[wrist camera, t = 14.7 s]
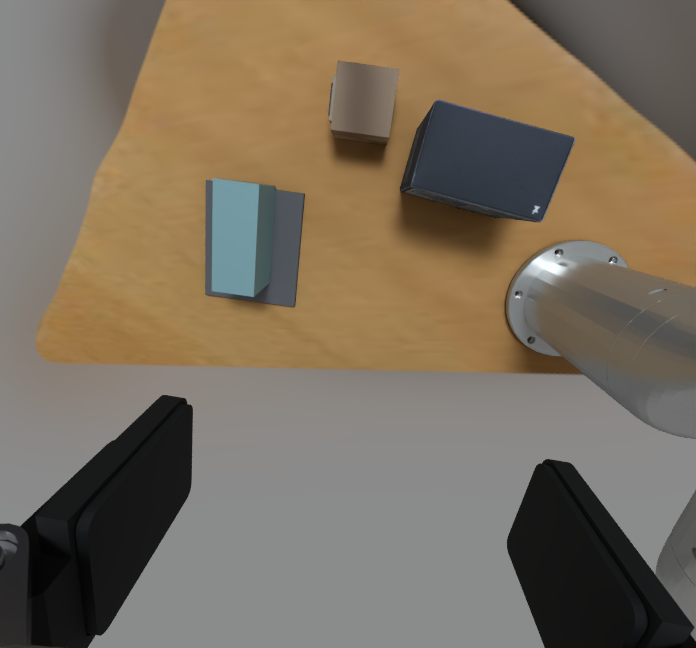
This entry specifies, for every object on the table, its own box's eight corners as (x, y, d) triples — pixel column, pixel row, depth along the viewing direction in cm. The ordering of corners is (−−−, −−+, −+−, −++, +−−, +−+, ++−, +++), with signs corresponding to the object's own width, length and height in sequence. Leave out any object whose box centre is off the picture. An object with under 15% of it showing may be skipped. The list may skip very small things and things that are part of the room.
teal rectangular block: (275, 186, 37) (259, 184, 32) (269, 282, 41) (253, 297, 35) (236, 180, 37) (212, 178, 32) (233, 277, 41) (211, 291, 35)
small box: (523, 151, 36) (583, 133, 26) (498, 219, 38) (544, 227, 28) (417, 121, 35) (436, 93, 26) (398, 192, 38) (408, 190, 28)
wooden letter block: (395, 86, 35) (399, 69, 30) (386, 145, 36) (388, 137, 32) (337, 78, 35) (332, 59, 30) (330, 137, 36) (325, 128, 32)
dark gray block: (304, 193, 38) (303, 193, 37) (295, 305, 42) (294, 306, 41) (207, 180, 38) (205, 180, 38) (207, 293, 42) (205, 294, 42)
